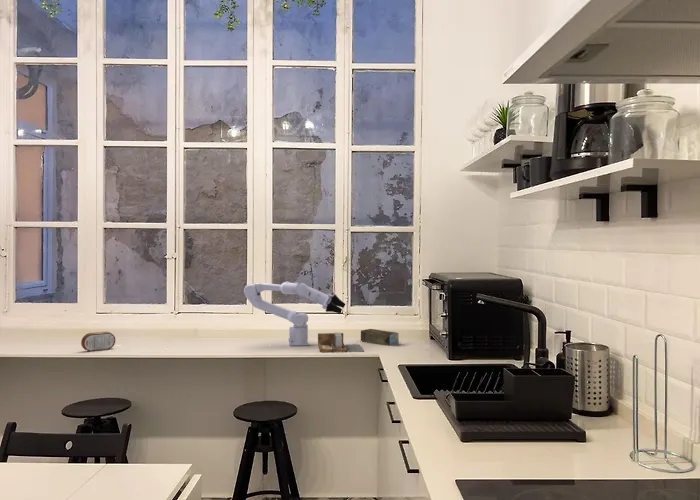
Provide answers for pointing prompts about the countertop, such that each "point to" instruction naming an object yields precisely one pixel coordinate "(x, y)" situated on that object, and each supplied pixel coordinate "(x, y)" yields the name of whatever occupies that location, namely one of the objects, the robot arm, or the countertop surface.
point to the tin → (98, 341)
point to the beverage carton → (379, 337)
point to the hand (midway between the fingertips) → (343, 308)
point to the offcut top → (325, 346)
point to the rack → (329, 342)
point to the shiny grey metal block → (337, 340)
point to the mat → (354, 347)
